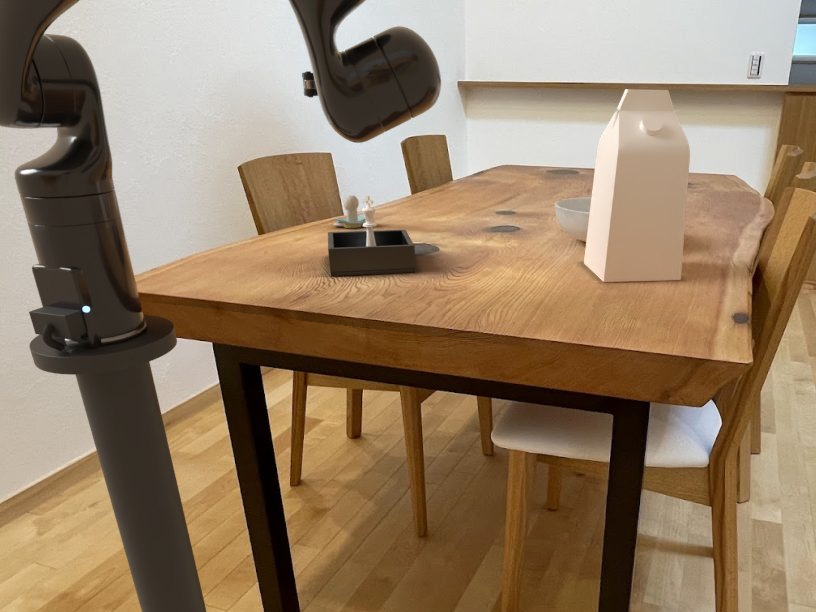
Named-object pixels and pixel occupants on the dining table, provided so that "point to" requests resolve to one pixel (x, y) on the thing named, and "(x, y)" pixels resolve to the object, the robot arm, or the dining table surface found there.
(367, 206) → the chess piece
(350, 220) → the pacifier
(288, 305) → the dining table surface
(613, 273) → the milk
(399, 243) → the dark grey open box
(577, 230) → the serving bowl
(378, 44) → the robot arm
